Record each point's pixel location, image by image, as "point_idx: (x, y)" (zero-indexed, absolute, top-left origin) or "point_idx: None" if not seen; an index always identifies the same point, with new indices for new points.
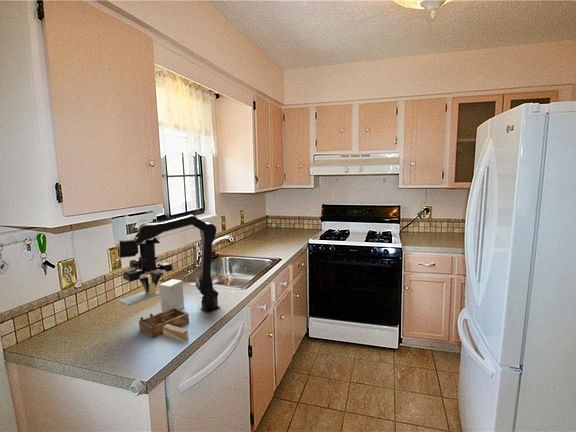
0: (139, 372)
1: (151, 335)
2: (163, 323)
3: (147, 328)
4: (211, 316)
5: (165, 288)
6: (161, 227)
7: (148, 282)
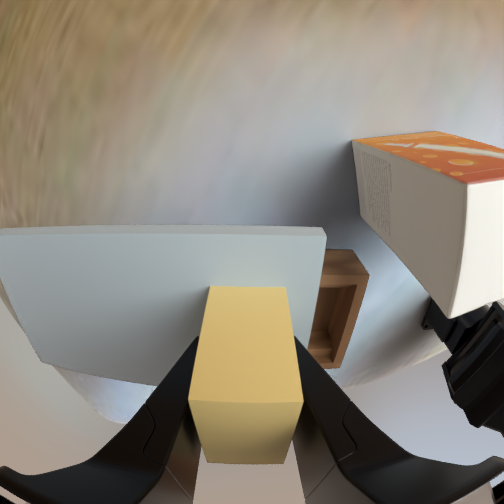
0: (103, 406)
1: None
2: None
3: None
4: (398, 350)
5: (441, 260)
6: None
7: (192, 493)
